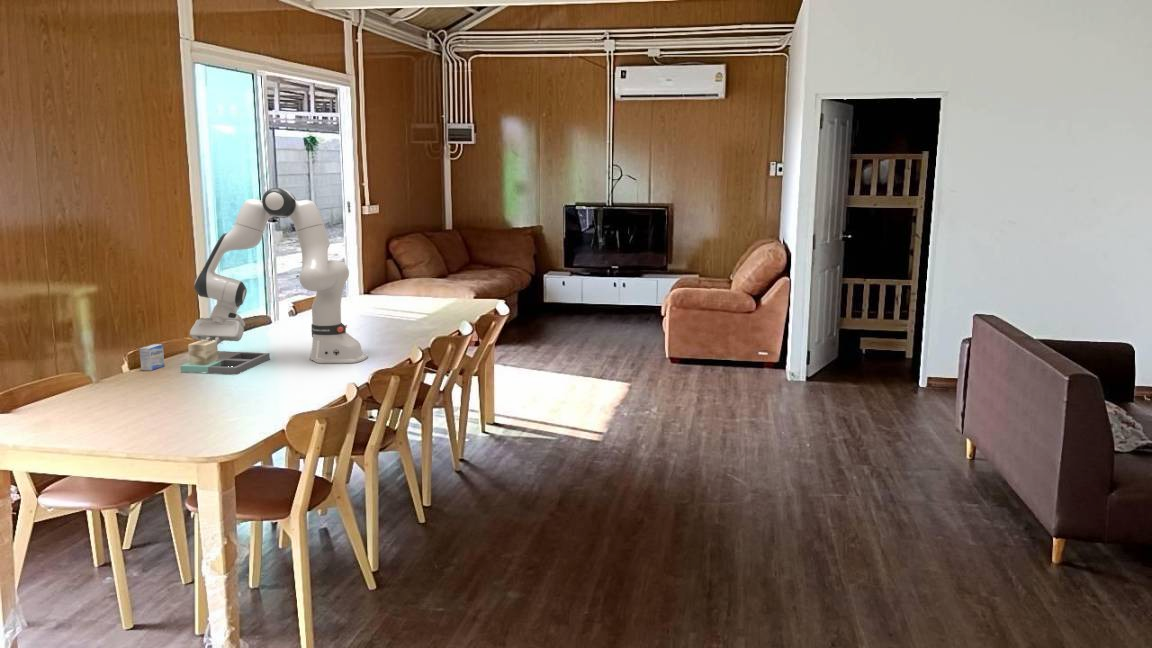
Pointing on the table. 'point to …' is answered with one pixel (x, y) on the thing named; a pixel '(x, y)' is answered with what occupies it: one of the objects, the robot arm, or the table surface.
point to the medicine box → (152, 357)
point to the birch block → (203, 352)
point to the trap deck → (229, 363)
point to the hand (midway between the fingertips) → (210, 348)
